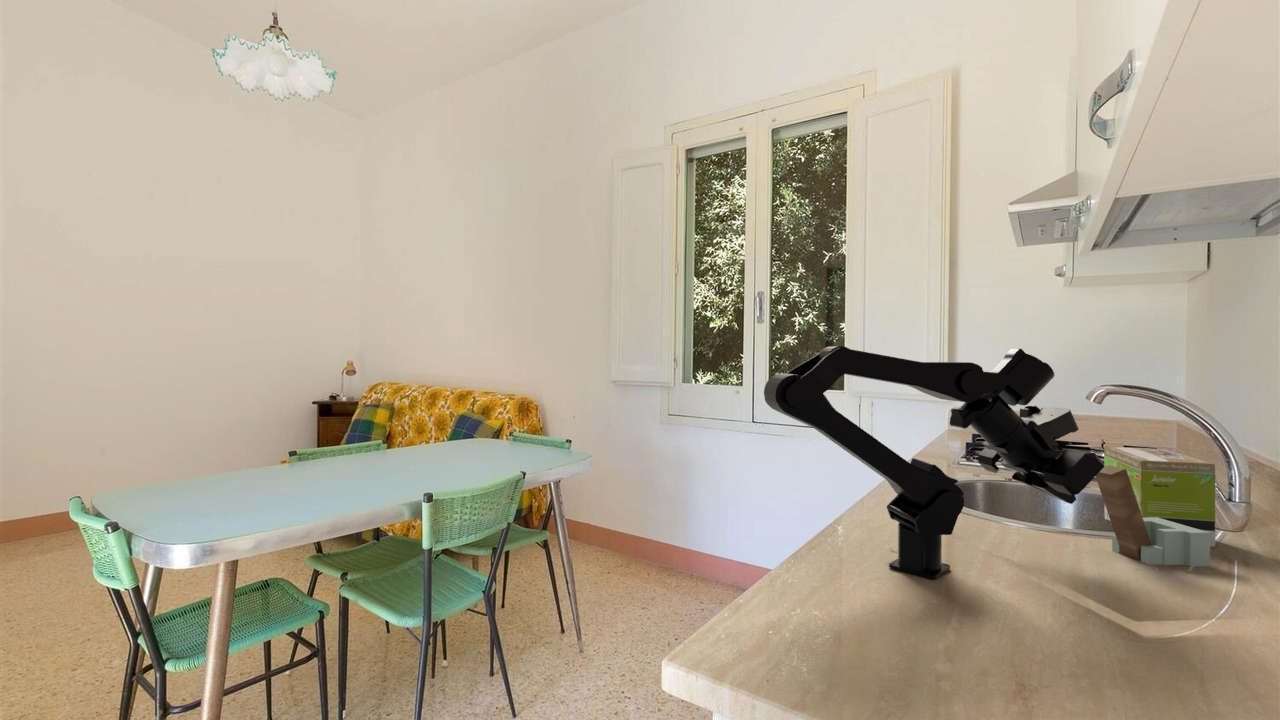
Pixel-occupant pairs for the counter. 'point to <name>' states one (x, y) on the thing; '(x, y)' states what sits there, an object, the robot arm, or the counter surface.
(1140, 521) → the brown wooden post
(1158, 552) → the bracket
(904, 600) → the counter surface
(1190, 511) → the tea box
